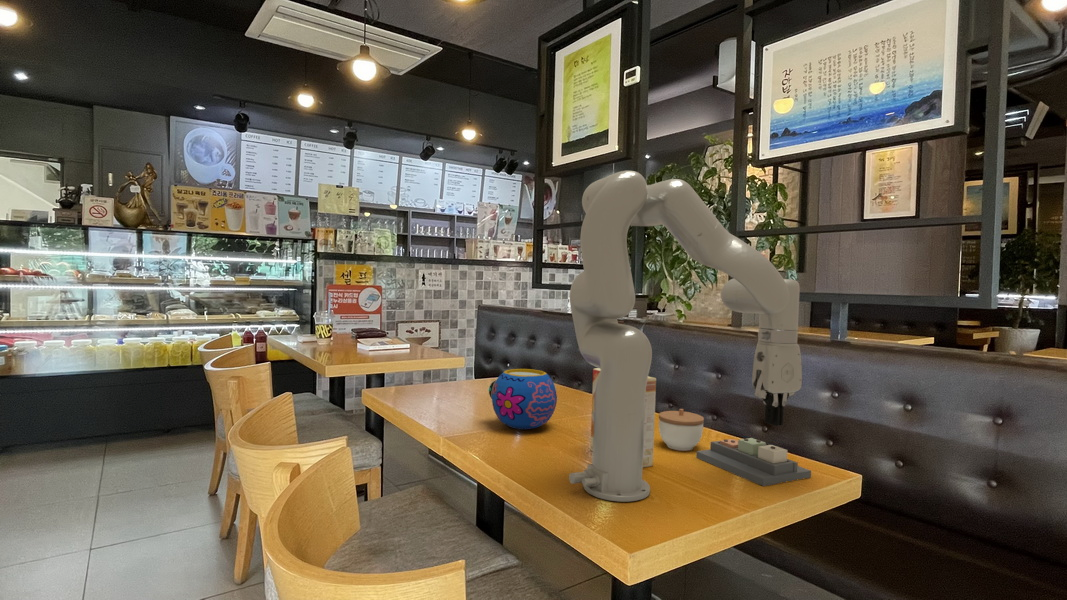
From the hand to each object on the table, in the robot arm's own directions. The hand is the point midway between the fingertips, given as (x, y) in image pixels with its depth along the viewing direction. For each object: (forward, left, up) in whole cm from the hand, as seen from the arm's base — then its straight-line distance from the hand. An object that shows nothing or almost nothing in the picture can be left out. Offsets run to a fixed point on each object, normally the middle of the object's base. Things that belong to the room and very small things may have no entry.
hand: (773, 423), depth 117 cm
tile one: (0, 0, -8) cm, 8 cm away
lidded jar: (-5, +23, -11) cm, 26 cm away
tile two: (0, +5, -8) cm, 9 cm away
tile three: (0, +11, -9) cm, 14 cm away
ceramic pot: (-34, +52, -11) cm, 63 cm away
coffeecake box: (-24, +21, -11) cm, 34 cm away
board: (0, +5, -11) cm, 12 cm away
